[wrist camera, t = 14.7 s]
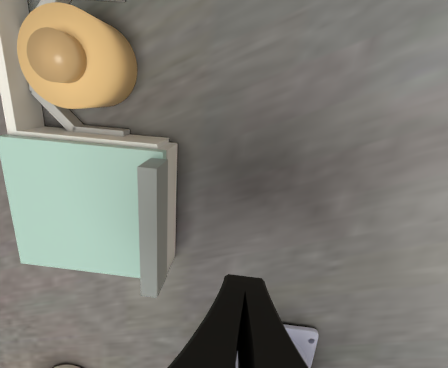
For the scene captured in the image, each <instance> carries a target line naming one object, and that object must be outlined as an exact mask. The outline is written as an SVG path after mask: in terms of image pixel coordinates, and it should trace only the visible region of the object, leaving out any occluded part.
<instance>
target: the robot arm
mask: <svg viewBox="0 0 448 368" xmlns="http://www.w3.org/2000/svg"><path fill="white" fill-rule="evenodd" d="M318 337H319V335H318V332H317V330H316V329H314V328H308V327H300V326H293V325H285V324H283V323H282V321H281V319H280V317H279V315H278V313H277V311H276V309H275V307H274V305H273V303H272V300H271V298H270V296H269V293H268V291H267V288H266V285H265V282H264V281H263V279H262V278H254V277H246V276H238V275H229V274H228V275H226V276H225V278H224V281H223V284H222V287H221V289H220V291H219V293H218V295H217V297H216V299H215V301H214V303H213V305H212V306H211V308H210V310H209V312H208V313H207V315H206V317H205V318H204V320H203V321H202V323H201V324H200V326H199V327H198V329H197V330H196V332H195V333H194V335H193V336H192V338H191V339H190V340H189V342H188V343H187V344H186V346H185V347H184V348H183V350H182V351H181V352H180V353H179V355H178V356H177V357H176V358H175V360H174V361H173V362H172V363H171V364H170V366H169V367H168V368H311V365H312V361H313V357H314V353H315V349H316V345H317V341H318Z"/></svg>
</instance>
